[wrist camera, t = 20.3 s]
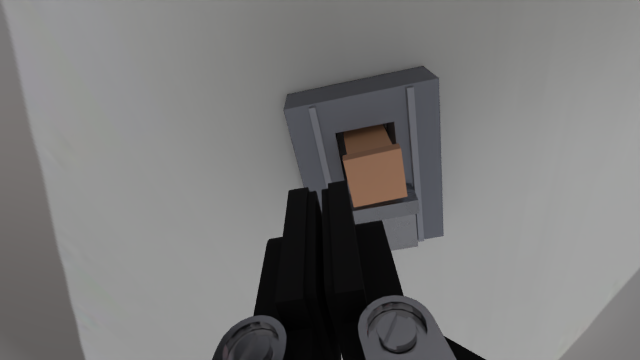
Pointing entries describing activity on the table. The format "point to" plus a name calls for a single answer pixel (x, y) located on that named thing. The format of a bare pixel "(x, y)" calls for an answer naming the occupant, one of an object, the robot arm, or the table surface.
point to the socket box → (368, 110)
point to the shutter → (393, 218)
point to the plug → (373, 166)
